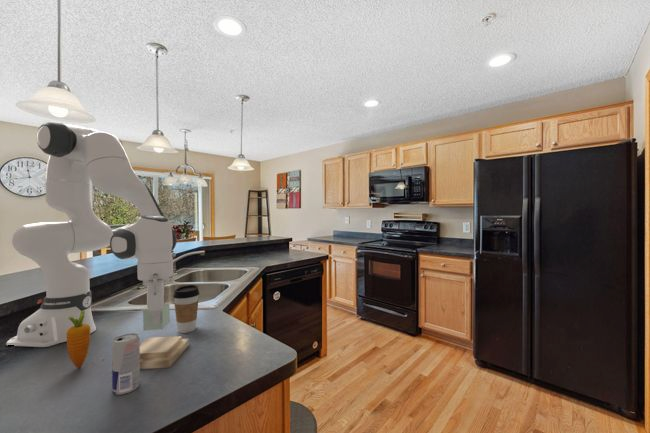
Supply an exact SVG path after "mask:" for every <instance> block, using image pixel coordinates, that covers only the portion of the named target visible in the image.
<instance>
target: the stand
mask: <svg viewBox="0 0 650 433" xmlns="http://www.w3.org/2000/svg"><path fill="white" fill-rule="evenodd" d="M189 346H190V338H183V336H182V335H179V336H157V337H156V336H155V337H147V338H146V339H144V340H143V341H142V342H141V343H140V370H146V369H148V370H149V369H150V370H151V369H165V368H169V369H170V368H171V367H172V366H173V364H174V363H175V362H176V361H178V359H179V358H180V357H181V355H182V354H183V353H184V352H185V350H186V349H187V348H188V347H189Z"/></svg>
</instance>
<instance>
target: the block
mask: <svg viewBox="0 0 650 433" xmlns="http://www.w3.org/2000/svg"><path fill="white" fill-rule="evenodd" d="M170 318H171V317H170V302H164V308H163V311H161V312H160V323H159V324H153V323H152V314H151V313H148V311H147V306H146V307H144V308H143V309H142V319H143V320H142V321H143V324H142V325H143V327H142V328H143V331H157V330H163V329H165V328H166V327H168V324H170V321H171V320H170Z"/></svg>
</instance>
